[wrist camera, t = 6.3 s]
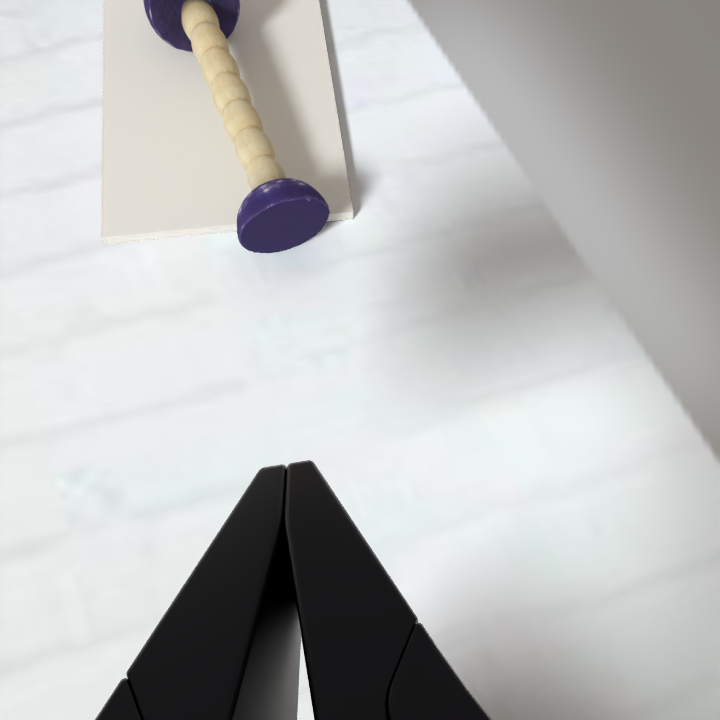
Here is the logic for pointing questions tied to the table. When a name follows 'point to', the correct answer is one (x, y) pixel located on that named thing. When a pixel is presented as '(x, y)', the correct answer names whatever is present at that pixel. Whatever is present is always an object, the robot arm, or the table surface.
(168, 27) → the toy lamp
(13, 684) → the table surface
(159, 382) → the table surface
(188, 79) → the felt mat
